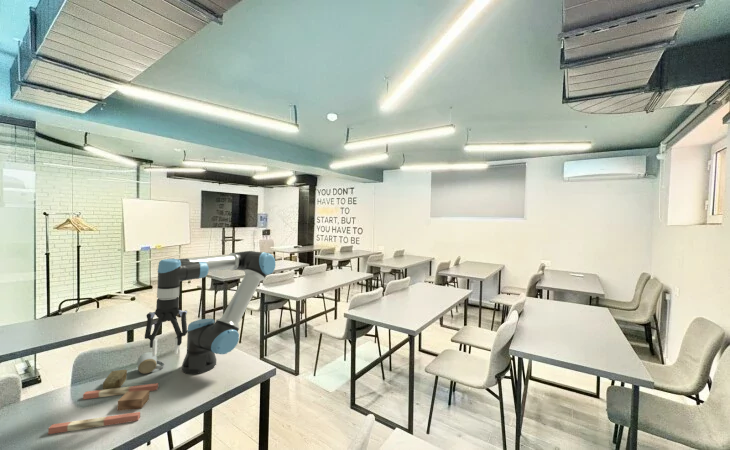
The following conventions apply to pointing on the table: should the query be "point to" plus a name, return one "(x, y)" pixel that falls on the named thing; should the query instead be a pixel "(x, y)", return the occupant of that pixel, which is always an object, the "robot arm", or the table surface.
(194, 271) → the robot arm
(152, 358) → the ceramic mug
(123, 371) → the stone block
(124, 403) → the walnut block
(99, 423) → the rails
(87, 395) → the rails
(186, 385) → the table surface
